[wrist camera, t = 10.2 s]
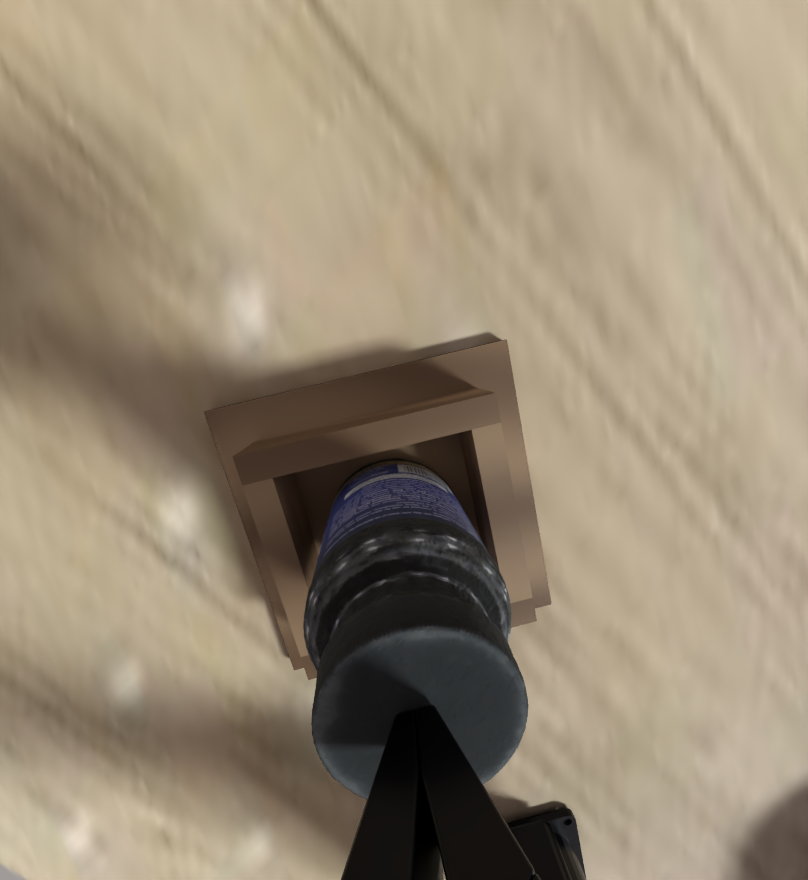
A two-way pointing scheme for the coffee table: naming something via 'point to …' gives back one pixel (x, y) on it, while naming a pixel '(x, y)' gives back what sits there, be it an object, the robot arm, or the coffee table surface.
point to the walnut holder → (373, 439)
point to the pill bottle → (408, 625)
